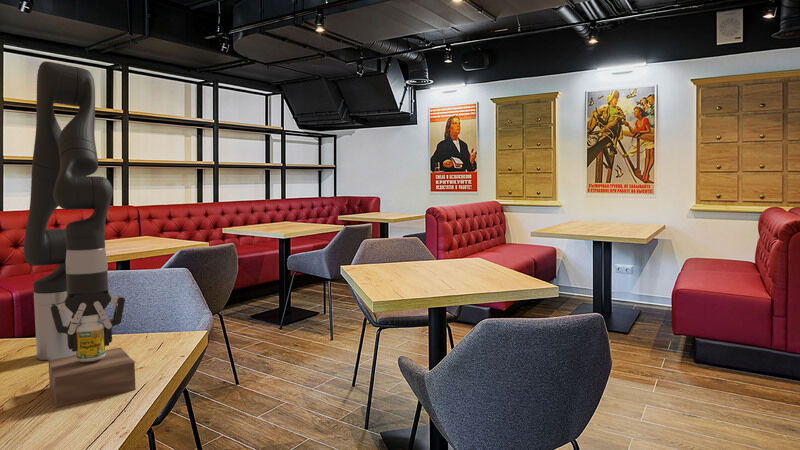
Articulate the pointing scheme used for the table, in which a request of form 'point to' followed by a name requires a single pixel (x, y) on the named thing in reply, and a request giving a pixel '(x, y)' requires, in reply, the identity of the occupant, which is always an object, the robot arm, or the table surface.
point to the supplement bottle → (90, 339)
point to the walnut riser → (91, 377)
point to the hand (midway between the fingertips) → (90, 347)
